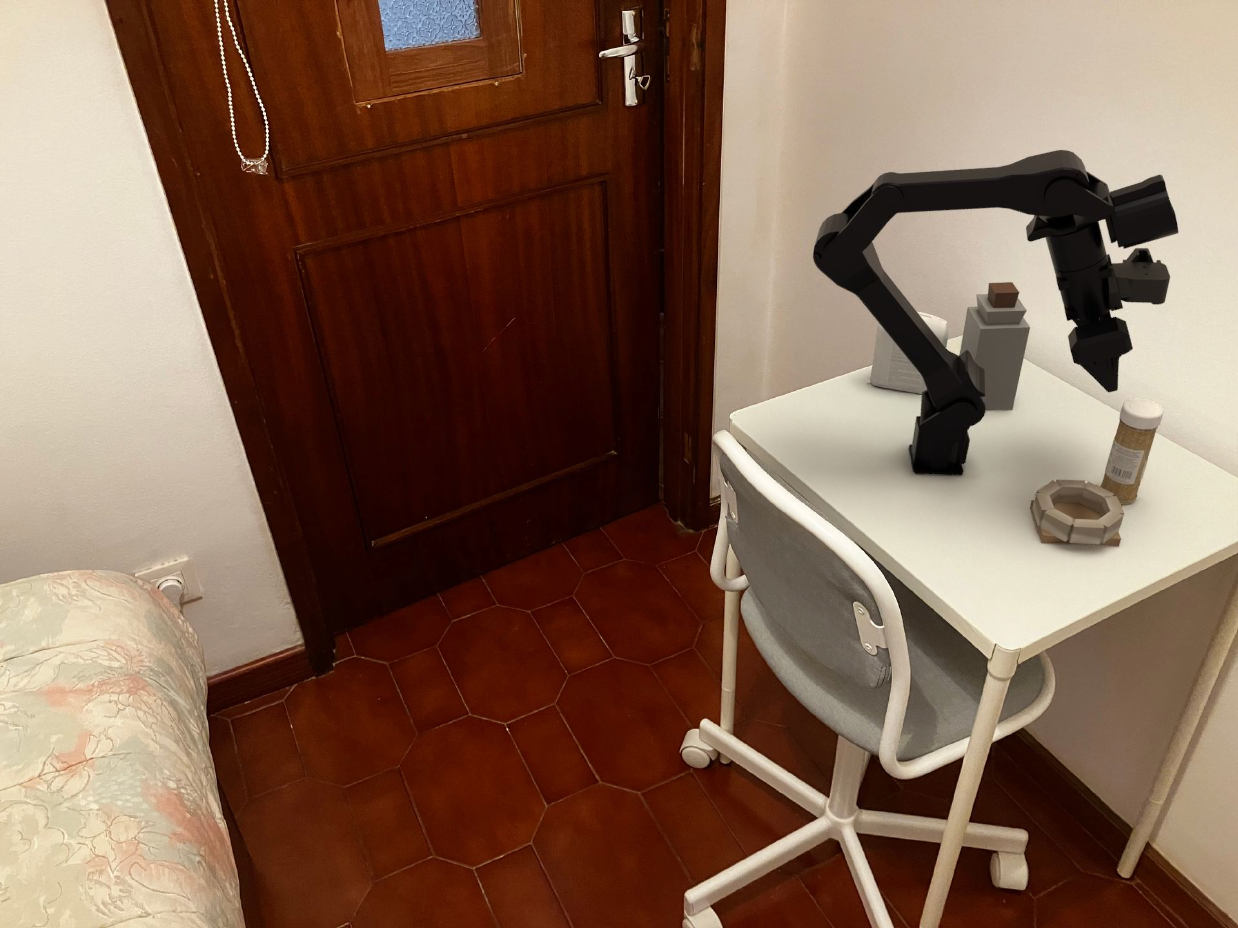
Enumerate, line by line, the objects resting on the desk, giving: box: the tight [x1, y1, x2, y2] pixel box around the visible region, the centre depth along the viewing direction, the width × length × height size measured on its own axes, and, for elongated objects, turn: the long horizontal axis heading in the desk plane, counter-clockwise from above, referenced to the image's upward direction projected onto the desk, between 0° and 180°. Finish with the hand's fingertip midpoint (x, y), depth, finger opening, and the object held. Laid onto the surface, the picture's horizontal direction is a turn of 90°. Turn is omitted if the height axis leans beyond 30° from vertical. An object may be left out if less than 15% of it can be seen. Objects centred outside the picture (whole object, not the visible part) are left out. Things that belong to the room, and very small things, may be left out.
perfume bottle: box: [959, 281, 1031, 412], centre depth 146 cm, size 7×7×18 cm
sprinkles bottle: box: [1099, 397, 1164, 505], centre depth 127 cm, size 5×5×13 cm
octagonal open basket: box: [1029, 479, 1125, 547], centre depth 125 cm, size 10×10×4 cm
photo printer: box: [870, 311, 949, 395], centre depth 151 cm, size 10×4×12 cm, turn 69°
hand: (1108, 371), depth 125 cm, fingers open, 9 cm apart
